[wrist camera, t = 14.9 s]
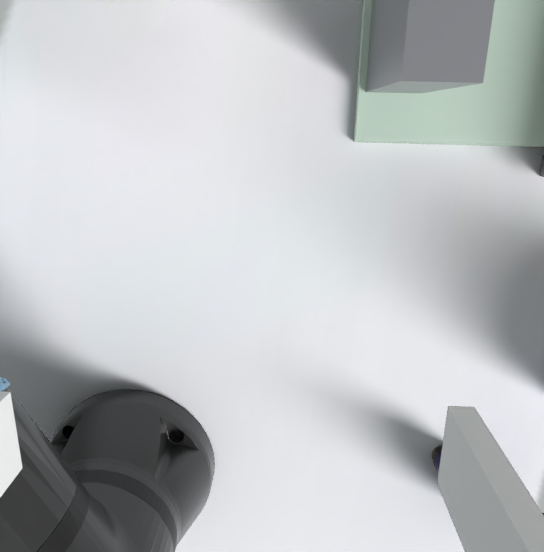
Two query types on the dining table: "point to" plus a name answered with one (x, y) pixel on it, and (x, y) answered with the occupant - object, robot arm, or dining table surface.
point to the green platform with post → (451, 72)
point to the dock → (542, 168)
